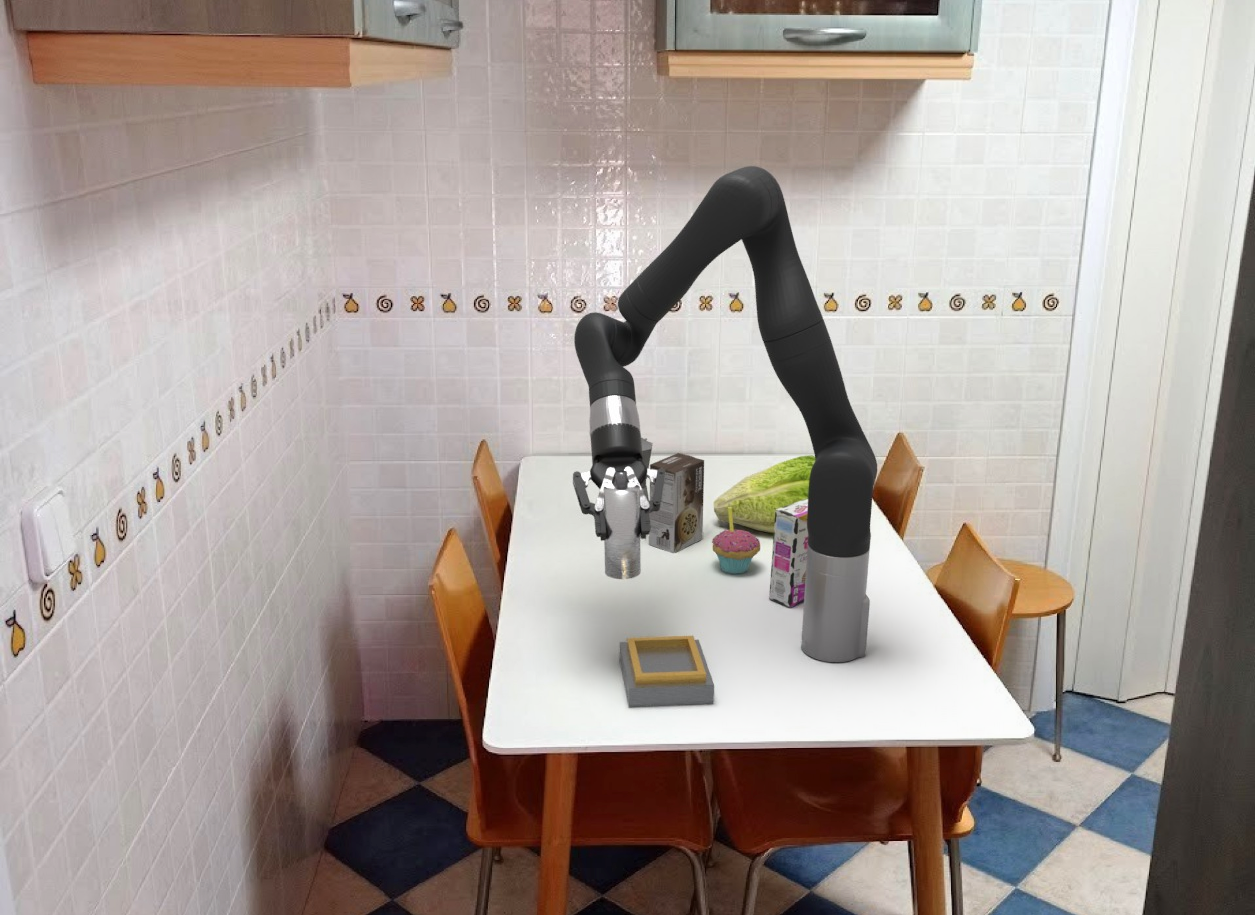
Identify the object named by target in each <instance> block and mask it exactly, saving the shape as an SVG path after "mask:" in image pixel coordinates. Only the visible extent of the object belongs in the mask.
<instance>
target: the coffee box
mask: <svg viewBox="0 0 1255 915" xmlns="http://www.w3.org/2000/svg"><path fill="white" fill-rule="evenodd" d="M659 468H663V469H664V470H665V479H664V486H663V493H662V500H661V505H660V510H659V511H653V512H651V513H650V525H651V529H650V533H649V535H648V545H649V546H651V547H654V548H657V549H660V550H664V551H666V552H669V553H672V554H676V553H677V552H680V551H681V550H684V549H686V548H687V547H689V546H691V545H693V544H695V543H697V542H699V541H701V540H703V530H704V529H703V528H704V524H703V523H704V493H705V492H704V487H705V486H704V485H705V483H704V482H705V459H701V458H698V457H695V456H692V455H688V454H684V453H681V452H678V453H674V454H673V455H670V456H668V457H665V458H662V459H659V460H658V461H656V462H653V463H651V464H650V463H649V469H651V470H658V469H659ZM654 488H655V485H652V484H651V483H650V482H649V501H650V500H653V495H654Z"/></svg>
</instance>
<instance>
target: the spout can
mask: <svg viewBox="0 0 1255 915" xmlns="http://www.w3.org/2000/svg"><path fill="white" fill-rule="evenodd" d="M603 491H604V511H603V512H604V516H605V525H606V540H605V541H604V574H605V575H606V577H609V578H611V579H616V580H628V579H634V578H637V577H638V576H640V574H641V569H642V566H641V535H640V487H639V486H638V485H637V484H634V483H629V482H627V471H624V470H619V471H616V482H615V483H610V484H607V485H606V486H604V488H603Z"/></svg>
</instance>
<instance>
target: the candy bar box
mask: <svg viewBox="0 0 1255 915" xmlns="http://www.w3.org/2000/svg"><path fill="white" fill-rule="evenodd" d="M807 513H808V498H807V499H804V500H801V501H799V502H796V503H793V504H790V505H787V506H784V507H782V508H779V509H776V510H775V523H774V533H773V542H772V556H771V568H770V579H769V580H770V581H769V582H770V584H769V596H768V599H769V600H770V601H773V602H775V603H778V604H779V605H782V606H784V607H787V608H793V607H795V606H797V605H799V604H801V603H804V594H805V578H806V563H807V547H808V530H807Z"/></svg>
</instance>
